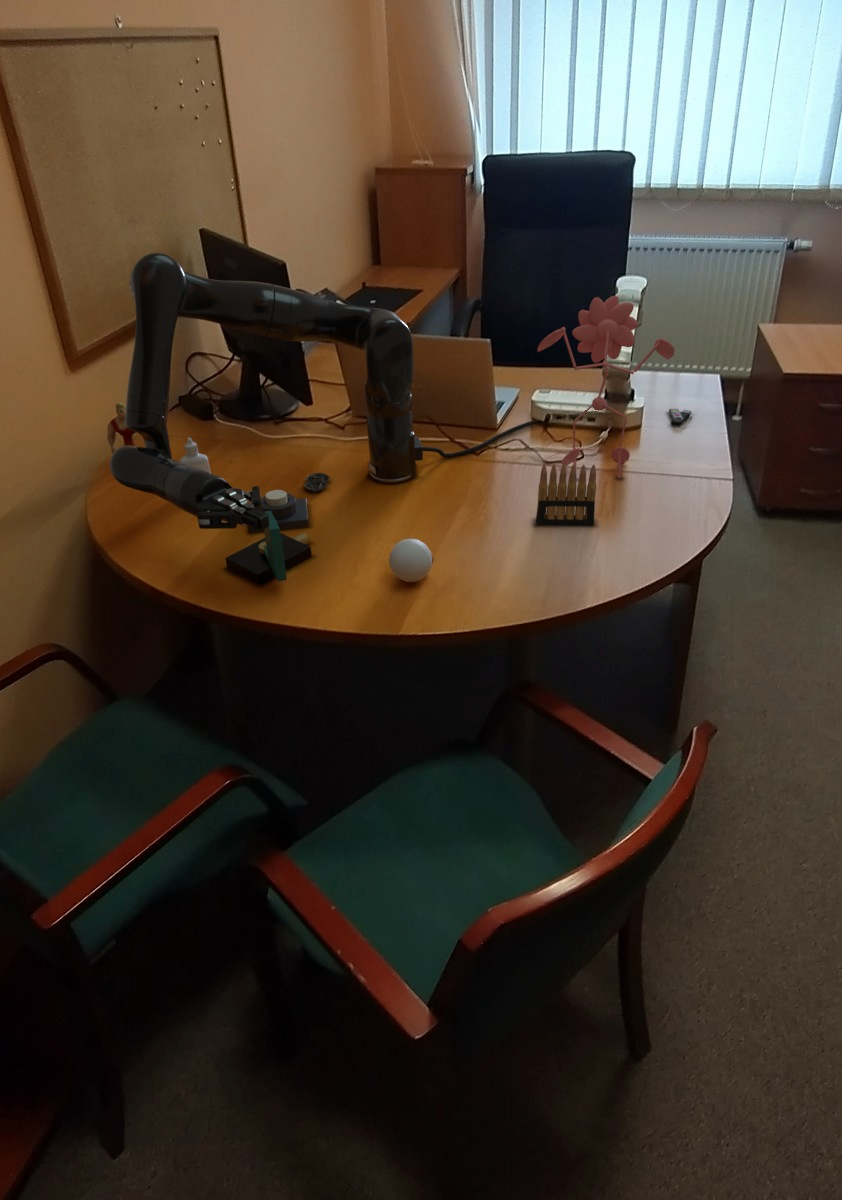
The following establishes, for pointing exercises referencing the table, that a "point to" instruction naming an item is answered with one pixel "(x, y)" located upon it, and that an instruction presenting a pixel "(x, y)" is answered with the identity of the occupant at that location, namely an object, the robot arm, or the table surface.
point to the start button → (276, 498)
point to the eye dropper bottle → (195, 457)
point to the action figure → (119, 428)
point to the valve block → (257, 564)
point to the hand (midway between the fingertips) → (265, 522)
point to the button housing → (287, 513)
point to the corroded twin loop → (316, 482)
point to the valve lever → (274, 548)
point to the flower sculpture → (604, 353)
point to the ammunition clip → (566, 498)
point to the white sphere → (410, 560)
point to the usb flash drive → (679, 416)
